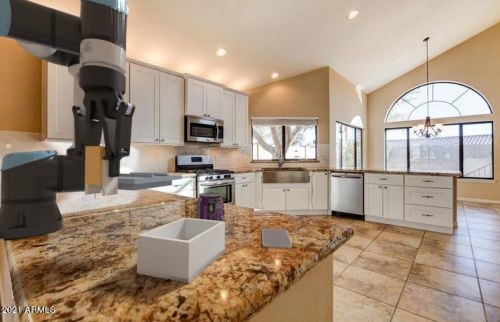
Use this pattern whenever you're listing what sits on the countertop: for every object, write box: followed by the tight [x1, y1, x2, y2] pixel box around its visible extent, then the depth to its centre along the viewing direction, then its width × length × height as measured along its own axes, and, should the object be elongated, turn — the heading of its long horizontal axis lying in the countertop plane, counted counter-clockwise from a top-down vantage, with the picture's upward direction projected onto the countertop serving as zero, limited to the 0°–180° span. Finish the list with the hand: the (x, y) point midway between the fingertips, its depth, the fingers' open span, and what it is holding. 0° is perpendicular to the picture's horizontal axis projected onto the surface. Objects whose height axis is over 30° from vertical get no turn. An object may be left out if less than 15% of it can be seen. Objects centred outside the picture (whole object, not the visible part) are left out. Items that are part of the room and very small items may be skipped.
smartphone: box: [261, 227, 293, 249], centre depth 65 cm, size 7×1×15 cm
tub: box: [136, 217, 226, 284], centre depth 49 cm, size 11×15×7 cm
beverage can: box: [196, 192, 224, 222], centre depth 64 cm, size 7×7×12 cm
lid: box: [85, 145, 183, 191], centre depth 52 cm, size 12×20×8 cm, turn 162°
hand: (101, 194), depth 44 cm, fingers closed on lid, 3 cm apart
